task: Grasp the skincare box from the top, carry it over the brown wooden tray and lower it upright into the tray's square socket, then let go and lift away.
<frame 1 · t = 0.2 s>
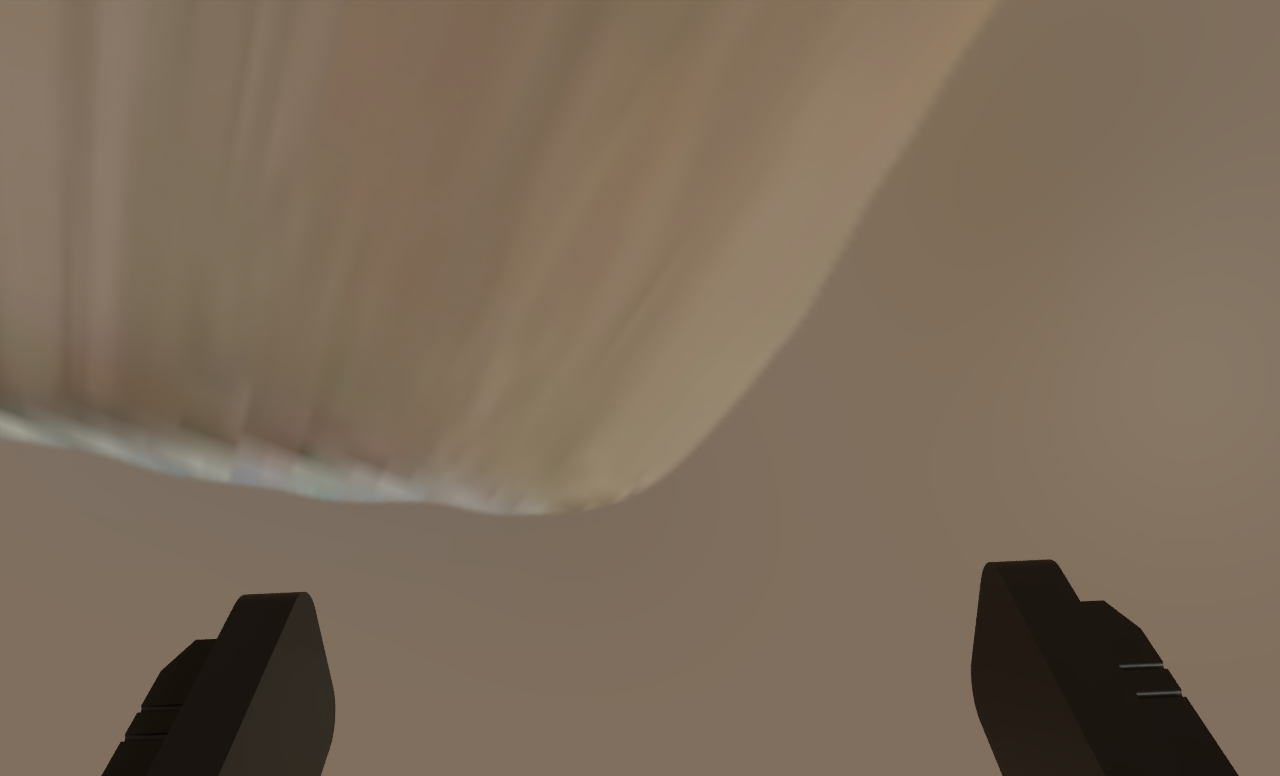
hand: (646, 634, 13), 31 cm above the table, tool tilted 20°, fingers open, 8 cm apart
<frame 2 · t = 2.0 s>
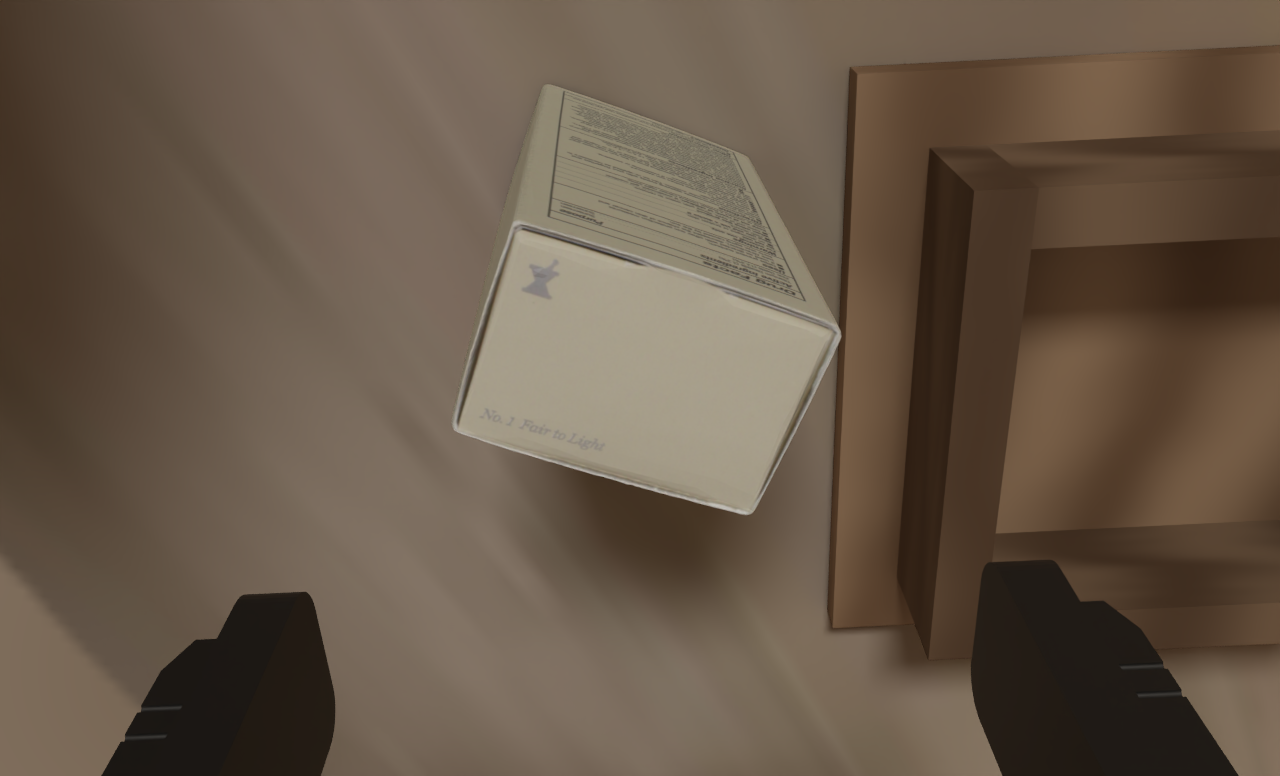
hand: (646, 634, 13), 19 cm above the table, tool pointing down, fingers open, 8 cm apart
brown wooden tray: (1134, 357, 32), on the table
skincare box: (629, 186, 30), on the table
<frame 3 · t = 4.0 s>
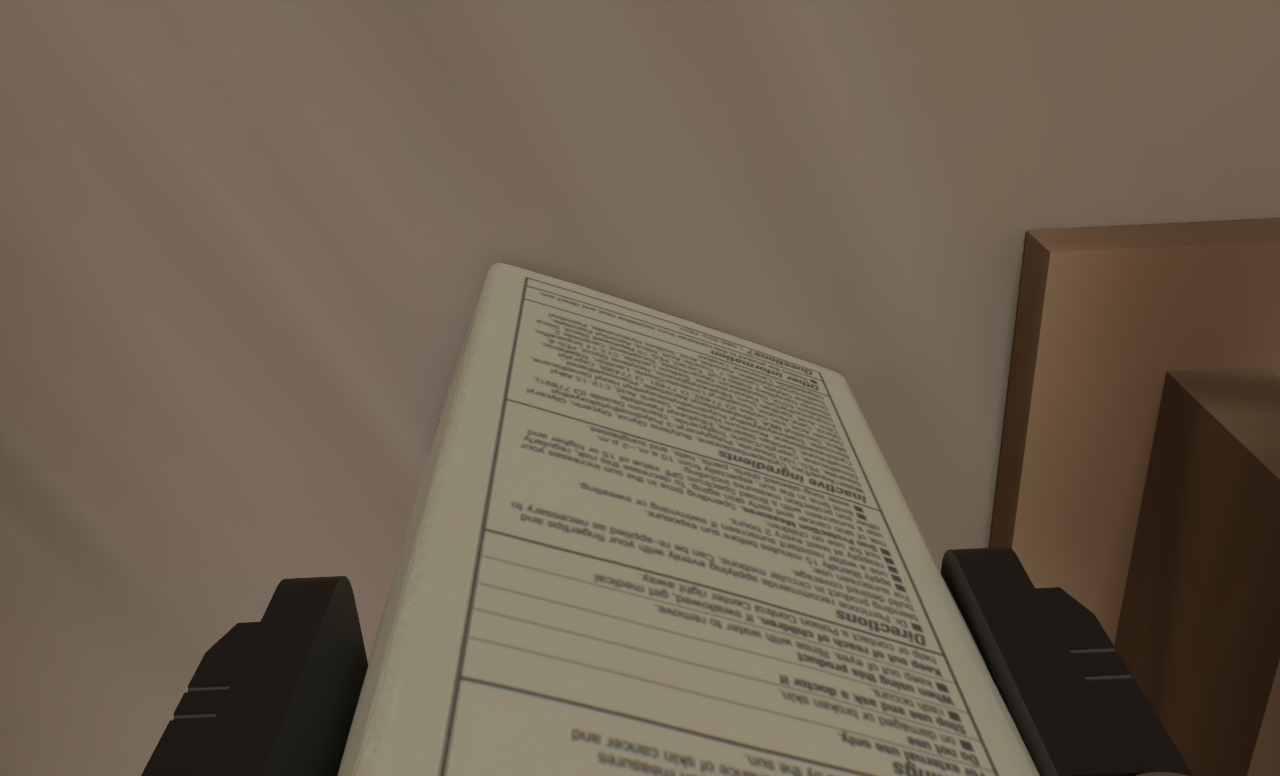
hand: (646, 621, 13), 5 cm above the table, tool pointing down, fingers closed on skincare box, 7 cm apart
skincare box: (640, 417, 18), on the table, touching gripper
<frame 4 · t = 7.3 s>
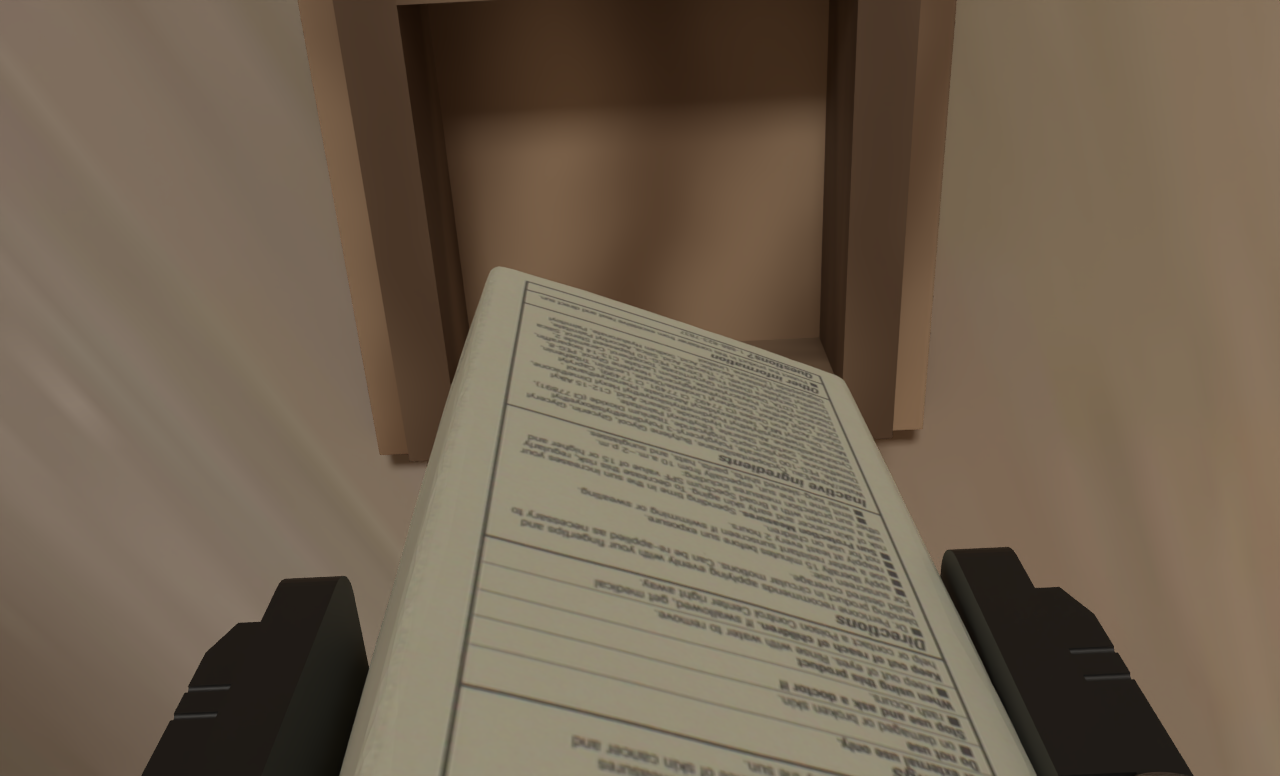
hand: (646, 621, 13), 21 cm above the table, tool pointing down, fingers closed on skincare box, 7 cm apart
brown wooden tray: (636, 166, 32), on the table
skincare box: (640, 420, 18), point 16 cm above the table, touching gripper
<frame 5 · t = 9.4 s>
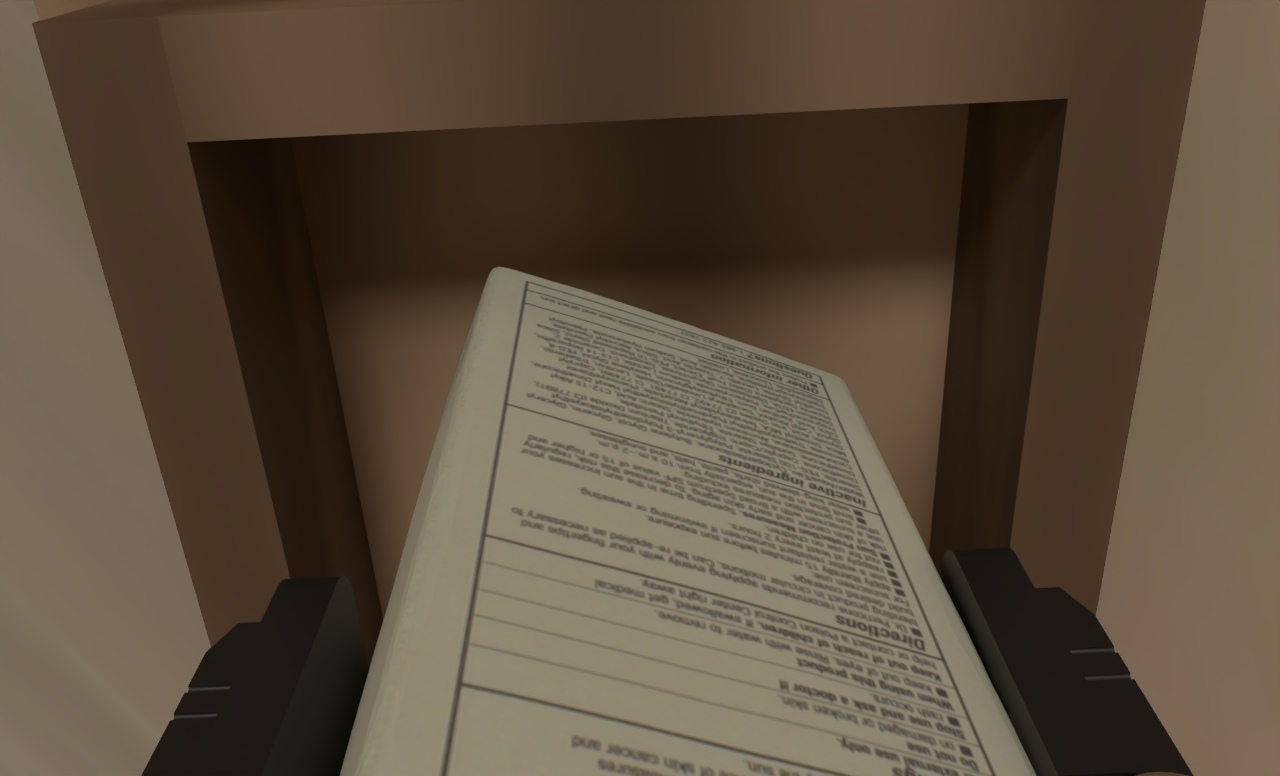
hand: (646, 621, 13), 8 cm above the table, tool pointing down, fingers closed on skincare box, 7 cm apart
brown wooden tray: (641, 353, 20), on the table
skincare box: (641, 420, 18), point 3 cm above the table, touching gripper
when the fingers open (7 cm above the table, at t = 10.5 s): skincare box drops 1 cm, resting on brown wooden tray.
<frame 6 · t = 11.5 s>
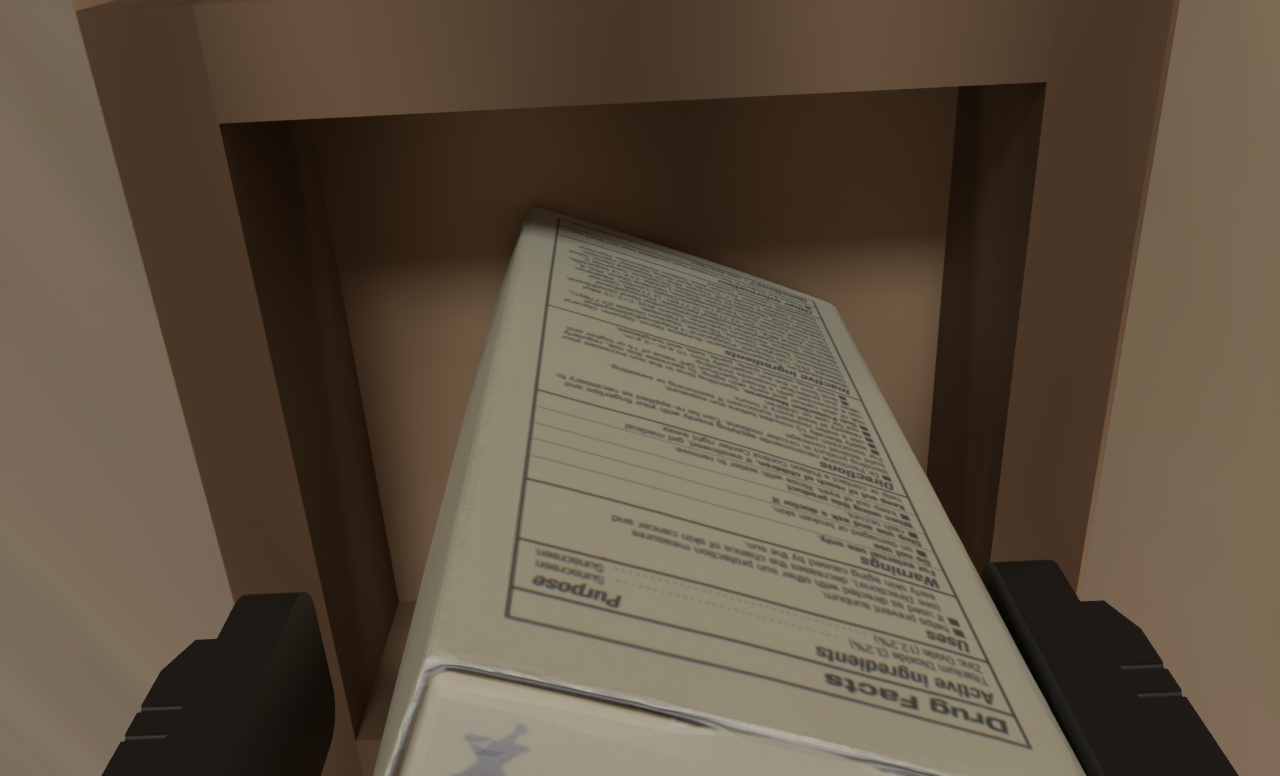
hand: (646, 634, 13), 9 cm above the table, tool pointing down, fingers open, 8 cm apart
brown wooden tray: (645, 333, 21), on the table
skincare box: (657, 346, 20), point 1 cm above the table, touching gripper, brown wooden tray
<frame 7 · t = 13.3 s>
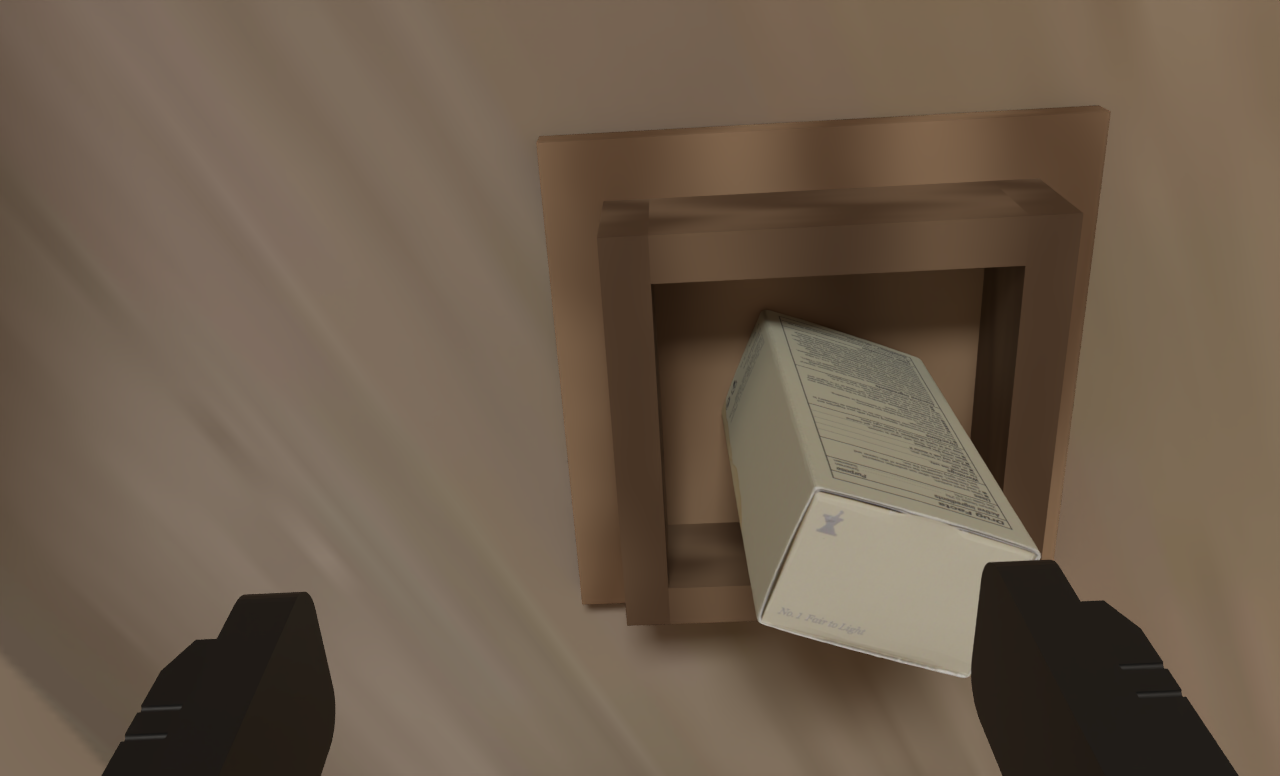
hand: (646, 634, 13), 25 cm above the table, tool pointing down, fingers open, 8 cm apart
brown wooden tray: (813, 373, 38), on the table
skincare box: (823, 380, 38), point 1 cm above the table, touching brown wooden tray
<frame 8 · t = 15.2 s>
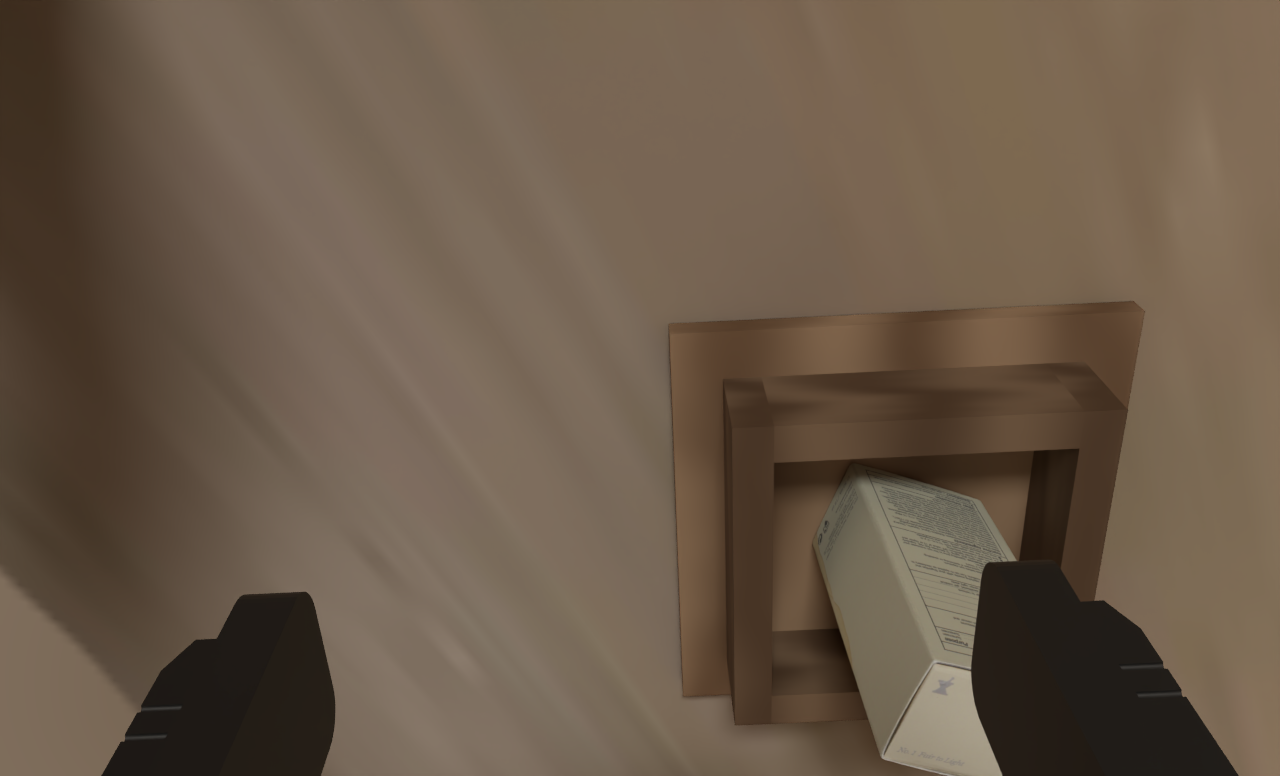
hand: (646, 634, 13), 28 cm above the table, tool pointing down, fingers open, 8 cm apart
brown wooden tray: (887, 508, 46), on the table
skincare box: (898, 516, 45), point 1 cm above the table, touching brown wooden tray
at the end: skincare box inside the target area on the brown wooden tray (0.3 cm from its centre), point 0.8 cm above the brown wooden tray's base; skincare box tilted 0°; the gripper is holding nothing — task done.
